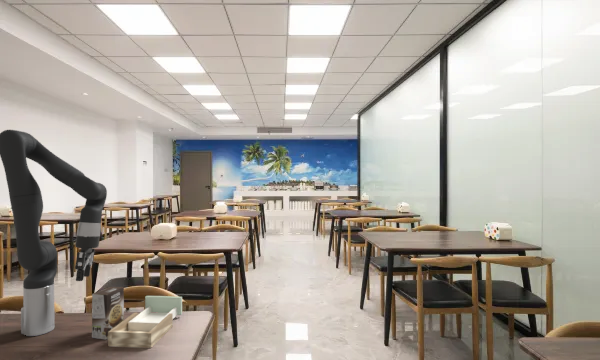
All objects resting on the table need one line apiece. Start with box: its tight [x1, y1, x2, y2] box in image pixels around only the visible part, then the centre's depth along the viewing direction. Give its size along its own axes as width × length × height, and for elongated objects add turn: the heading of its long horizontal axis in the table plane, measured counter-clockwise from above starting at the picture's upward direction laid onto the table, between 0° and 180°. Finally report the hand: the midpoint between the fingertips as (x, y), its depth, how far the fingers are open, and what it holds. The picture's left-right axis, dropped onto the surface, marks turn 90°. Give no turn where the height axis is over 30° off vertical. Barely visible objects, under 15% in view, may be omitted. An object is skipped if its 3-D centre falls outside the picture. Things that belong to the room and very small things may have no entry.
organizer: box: [107, 312, 174, 349], centre depth 125 cm, size 15×17×5 cm
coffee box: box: [91, 286, 125, 340], centre depth 127 cm, size 9×6×16 cm
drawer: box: [128, 295, 183, 331], centre depth 135 cm, size 15×16×7 cm
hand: (82, 278), depth 128 cm, fingers open, 8 cm apart
